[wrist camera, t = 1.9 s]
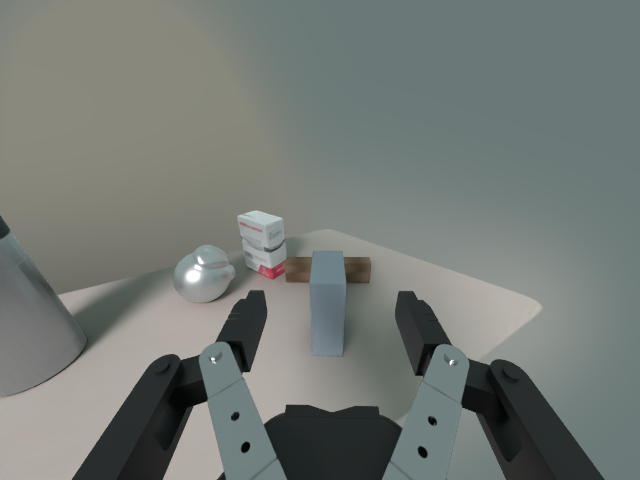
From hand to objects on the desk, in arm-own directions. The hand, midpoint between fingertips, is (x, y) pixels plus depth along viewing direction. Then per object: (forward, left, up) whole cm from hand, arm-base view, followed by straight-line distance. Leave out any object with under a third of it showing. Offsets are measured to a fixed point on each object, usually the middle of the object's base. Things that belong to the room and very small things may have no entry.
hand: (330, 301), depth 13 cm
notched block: (0, +13, -18) cm, 22 cm away
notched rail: (0, +26, -18) cm, 31 cm away
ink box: (-13, +30, -18) cm, 37 cm away
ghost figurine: (-21, +21, -18) cm, 35 cm away
